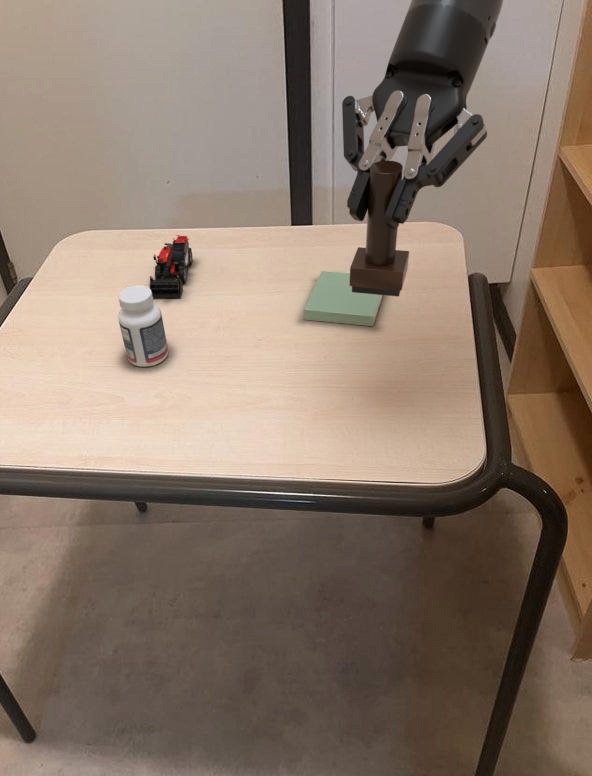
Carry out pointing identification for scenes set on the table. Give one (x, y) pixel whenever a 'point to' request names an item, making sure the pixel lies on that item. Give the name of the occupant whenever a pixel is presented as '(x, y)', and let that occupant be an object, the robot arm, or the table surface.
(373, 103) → the robot arm
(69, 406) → the table surface
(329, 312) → the tile
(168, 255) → the loader
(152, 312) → the pill bottle
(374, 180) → the brown peg on base
